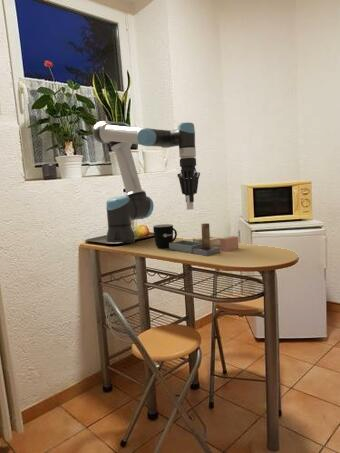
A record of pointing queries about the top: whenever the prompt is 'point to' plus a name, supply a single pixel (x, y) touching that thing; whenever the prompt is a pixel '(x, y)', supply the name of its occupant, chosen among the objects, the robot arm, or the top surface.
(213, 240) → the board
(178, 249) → the tray
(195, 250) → the socket
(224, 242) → the block
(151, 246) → the top surface
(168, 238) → the mug
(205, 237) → the dowel
